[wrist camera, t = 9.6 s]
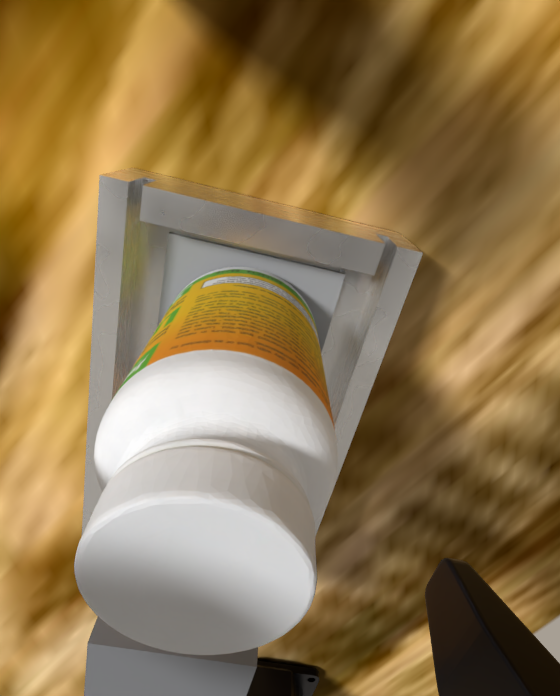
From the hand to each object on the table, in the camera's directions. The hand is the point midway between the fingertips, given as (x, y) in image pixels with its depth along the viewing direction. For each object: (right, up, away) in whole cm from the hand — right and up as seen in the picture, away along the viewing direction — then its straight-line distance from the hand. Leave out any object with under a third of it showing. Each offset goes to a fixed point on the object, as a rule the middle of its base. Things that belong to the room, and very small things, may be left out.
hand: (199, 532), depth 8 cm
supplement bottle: (0, +4, +8) cm, 9 cm away
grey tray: (-1, +1, +11) cm, 11 cm away
